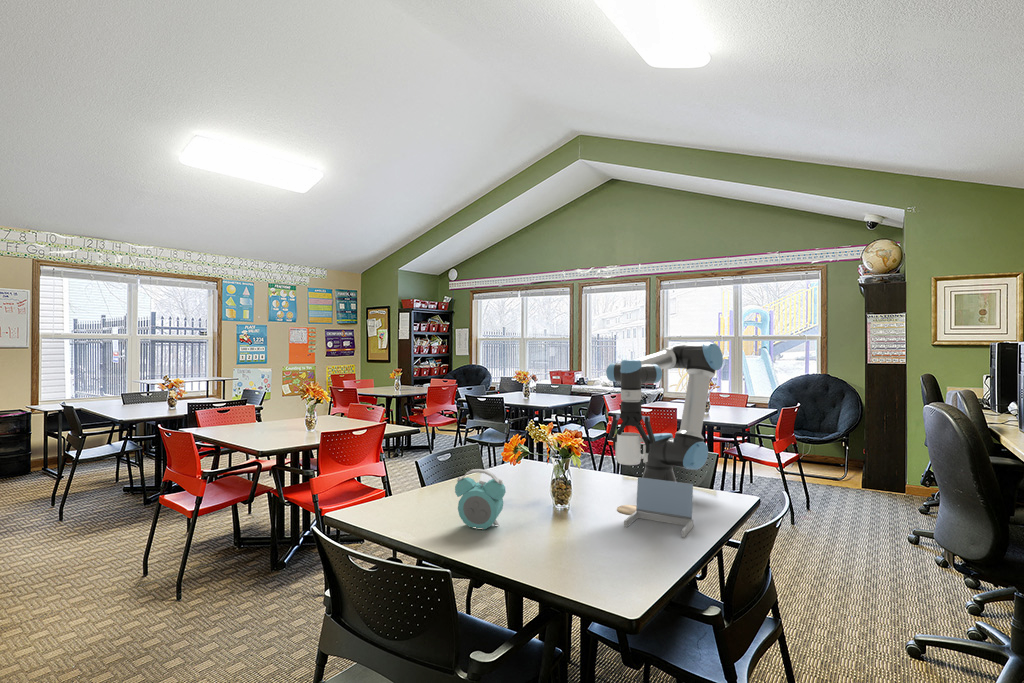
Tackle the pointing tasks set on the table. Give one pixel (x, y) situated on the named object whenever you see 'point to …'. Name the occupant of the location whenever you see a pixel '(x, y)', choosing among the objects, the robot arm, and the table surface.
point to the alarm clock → (480, 500)
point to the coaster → (627, 509)
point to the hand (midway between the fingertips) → (631, 460)
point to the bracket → (661, 520)
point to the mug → (629, 448)
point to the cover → (665, 498)
